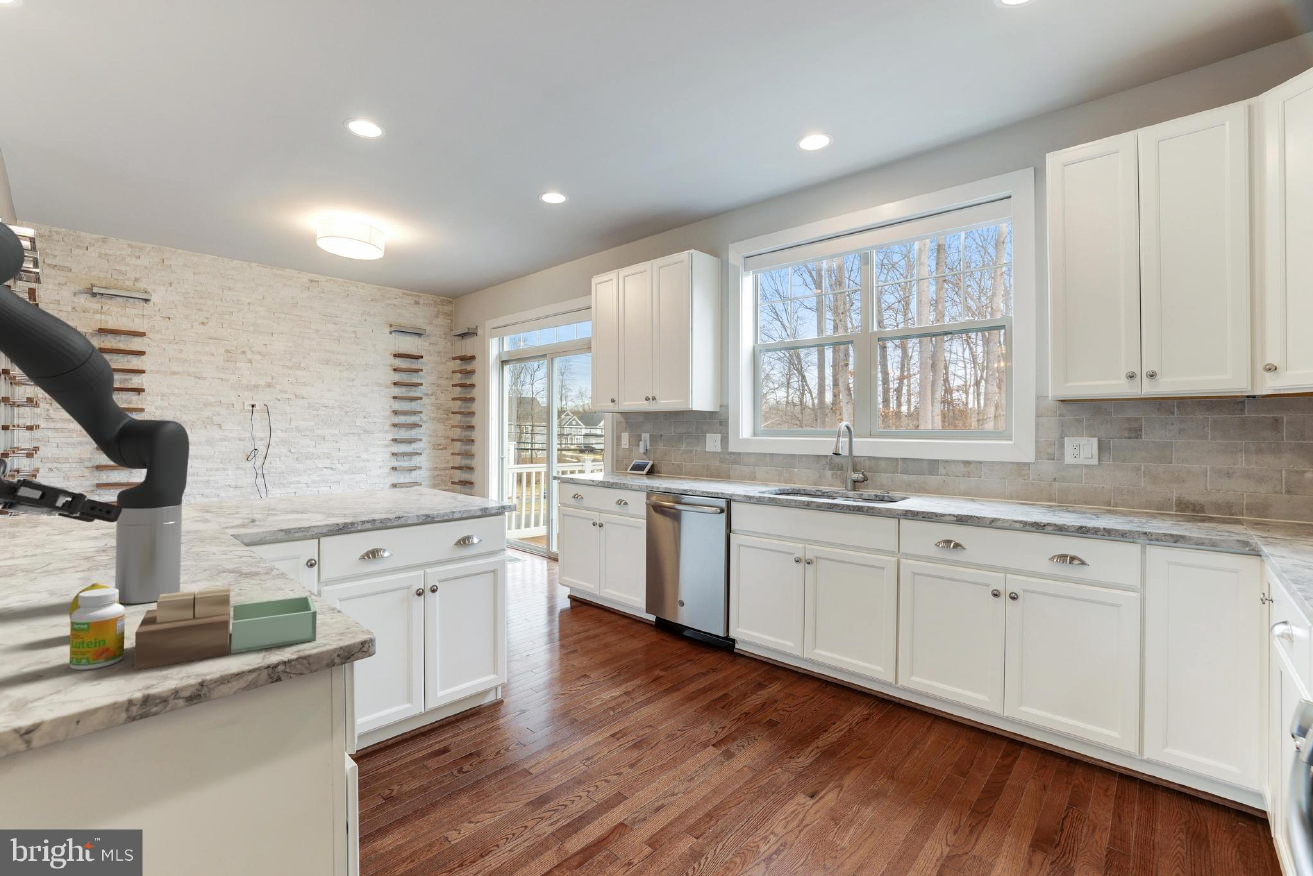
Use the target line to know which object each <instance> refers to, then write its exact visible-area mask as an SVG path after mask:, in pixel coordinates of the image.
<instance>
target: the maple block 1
mask: <svg viewBox="0 0 1313 876" xmlns="http://www.w3.org/2000/svg"><path fill="white" fill-rule="evenodd" d="M196 593H197V590H193V591H192V590H191V591H183V592H181V591H180V592H179V593H170V594H161V595H160V597H159V599H158V600H157V601H156V609H157V623H159V622H167V621H175V620H183V619H191V618H193V616H194V613H195V596H196Z"/></svg>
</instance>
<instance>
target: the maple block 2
mask: <svg viewBox="0 0 1313 876" xmlns="http://www.w3.org/2000/svg"><path fill="white" fill-rule="evenodd" d="M229 610H230V611H231V587H221V588H212V589H211V588H210V589H201V590H199V589H198V590H196V593H195V618H199V617H207V616H215V615H223V614H229Z"/></svg>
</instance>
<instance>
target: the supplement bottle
mask: <svg viewBox="0 0 1313 876" xmlns="http://www.w3.org/2000/svg"><path fill="white" fill-rule="evenodd" d="M118 598H119V590H118V589H115V587H114V588H112V587H110V588H104V589H95V590H90V591H85V592H82V593H80V594H79V595H78V603H79V604H78V605H79V606H81V607H80V609H78V610H76V611H74V612H73V613H72V615H71V620H69V621H70V624H69V625H70V626H69V628H70V631H69V632H70V633H69V636H70V637H69V668H71V669H73V670H78V671H83V670H85V671H86V670H93V669H99V668H103V667H108V666H111V665H114V664H116V663H119V662H120V661H121V660H122V659H123V658H124V656H125V654H124V653H125V625H126V624H125V621H126V619H125V618H126V610H125V606H124V605H123V604H121V603H119V604H116V601H117V600H118Z"/></svg>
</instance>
